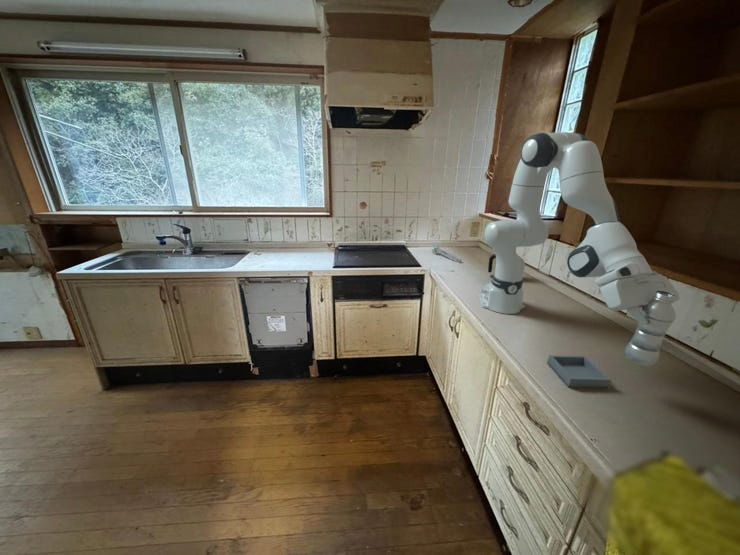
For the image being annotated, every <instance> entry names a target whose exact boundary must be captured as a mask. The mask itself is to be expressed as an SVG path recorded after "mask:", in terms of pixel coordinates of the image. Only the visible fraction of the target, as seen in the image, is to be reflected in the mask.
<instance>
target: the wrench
mask: <svg viewBox="0 0 740 555" xmlns="http://www.w3.org/2000/svg"><path fill="white" fill-rule="evenodd" d="M430 246H433V248H432V249H431V248H430V250H431V252H432V253H433V254H434V255H438V254H439V255H442V256H445V258H448V259H450V260H452V261H453V262H456V263H458V264H459V263H461V262H462V259H461V258H460V257H458V256H456V255H454V254H452V253H450V252H448V251H446V250H444V249H442V248H441V247H440V246H439V245H438V244H437V243H436V242H434V241H433V242H431V243H430Z"/></svg>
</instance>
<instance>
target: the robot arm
mask: <svg viewBox="0 0 740 555" xmlns="http://www.w3.org/2000/svg"><path fill="white" fill-rule="evenodd" d="M553 169H557V171H558V176H559V177H558V178H559V188H560V195H561V198H562V201H563V202H564V203H565V204H567V205H568V206H570V207H571V208H573V209H576V210H578V211H582V212H583V213H585V214H587V215H588V216H590V217H591V218H592V219H593V221H594V223H595V224H594V225H593V226H591V227H589V228H588V229H587V230H586V236H585V237H584V239H583V240H582V242H581V243H580V244H579V245H578V246H577V247H576V248H575V249H573V250H571V252H570V253H569V254H568V257H567V259H566V263H567V267H568V268H567V269H568V270H569V271H570V273H571V274H572V275H573V276H575V277H577V278H584V279H585V278H596V277H597V278H596V279H595V285H597V287H600V288H599V289H600V293H601V296H602V299H603V300H604V302H605V304H606V306H607V307H608V308H609V309H610V310H611V311H613V312H618V311H625V310H626V311H627V313H628V315H630V316H631V317H632V318H634V320H636V322H637V325H638V324H639V325H641V326H642V325H647V324H650V321H649V319H648V317H645V316H644V315H643V314H642V313H641V312H640V311H641V308H642V307H643V306H644V305H648V304H649V303H650V302H651V301H652V300H654V299H653V296H654V294H655V292H656V291H666V292H670V293H672V294H674V295H676V296H675V299H674V303H675V302H679V301H680V298H681V297H680V294H679V292H678V291H677V289H676V288H675V287H674V285H673V284H672V282H671V281H670V280H669V279H668V278H667V277H666V276H665V275H662V274H661V273H659V272H657V271H655V270H652V268H651V267H650V265H649V263H648V262H647V259H646V258H645V256H644V255H643V254H642V253H641V252H640V251H639V250H638V247H637V243H636V241H635V239H634V238H633V236H632V234H631V232H629V230H628V229H627V227H626V226H625V225H624V224H623V223H621V218H620V213H619V210H618V206H617V204H616V200H615V199H614V197H613V196H612V195H611V194H610V192H609V189H608V187H607V183H606V181H605V176H604V167H603V162H602V158H601V155H600V151H599V148H598V146H597V144H596V143H595V142H594V141H592V140H590V139H589V137H587V136H586V135H584V134H582V133H578V132H566V131H557V132H539V133H535V134H533V135H530V136H528V137H527V139H525V141H524V142H523V144H522V146H521V150H520V160H519V163H518V164H517V167H516V170H515V172H514V175H513V179H512V183H511V187H510V192H509V197H508V206H509V207H510V208H511V209H512V210H514V212H516V219H501V220H497V221H492V222H490V223H488V225H487V226H486V228H485V229H484V235H483V236H484V240H485V242H486V243H487V245H489V247H490V248H492V250H493V252H494V254H495V255H496V258H495V270H494V274H493V278H491V281H490V282H488V283H487V284H484V287H483V288H481V292H478V293H477V297H478V299H479V303H480V306H481V307H482V308H485V309H487V310H491V311H493V312H496V313H500V314H506V315H513V314H518V313H520V312H521V310H523V309H525V304H523V301H524V300H523V299H524V290H523V289H522V288H523V284H524V279H523V278H524V272H525V268H526V262H525V260H524V259H523V258H522V257H521V256H519V255H516V254H517V248H520V247H522V248H523V247H526V248H527V247H535V246H538V245H542V244H544V243H545V242H546V241H547V239H548V237H549V234H550V233H549V232H550V230H549V227H548V225H547V223H546V222H545V221H544V220H543V218H542V216H541V211H540V207H541V200H542V197H543V191H544V189H545V185H546V181H547V180H546V179H547V176H548V174H549V172H551V170H553ZM522 308H523V309H522Z"/></svg>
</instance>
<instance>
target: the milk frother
mask: <svg viewBox="0 0 740 555" xmlns="http://www.w3.org/2000/svg"><path fill="white" fill-rule="evenodd" d="M516 255H518V253H516ZM518 256H519V255H518ZM495 259H496V255H495V253H493V254H492V255H490V257H489V259H488V269H487V272H488V273H492V272H493V271H492V270H493V265H494V264H493V261H494V260H495ZM493 276H494V275H492V274H491V275H490V276H489V277H490V278H491V279H492V278H493Z"/></svg>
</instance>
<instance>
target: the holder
mask: <svg viewBox="0 0 740 555" xmlns="http://www.w3.org/2000/svg"><path fill="white" fill-rule="evenodd" d="M546 364H547V365H548V366H549V368H550V369H551V371H553V372H554V373H555V374H556V376H557V377H558V378H559V379H560V380H561V381H562V382H563V383H564V384H565V386H566V387H567V388H574V389H578V388H580V389H582V388H583V389H608V388H609V386H610V383H611V378H609V377H608V376H607V375H606V374H605V373H604V372H603V371H602V369H600V368H599V367H597V366H596V365H595V364H594V363H593V362H592V361H591V360H590V359H589V358H587V357H586V356H585V355H552V354H551V355H550V354H549V355H548V358H547V361H546Z"/></svg>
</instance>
